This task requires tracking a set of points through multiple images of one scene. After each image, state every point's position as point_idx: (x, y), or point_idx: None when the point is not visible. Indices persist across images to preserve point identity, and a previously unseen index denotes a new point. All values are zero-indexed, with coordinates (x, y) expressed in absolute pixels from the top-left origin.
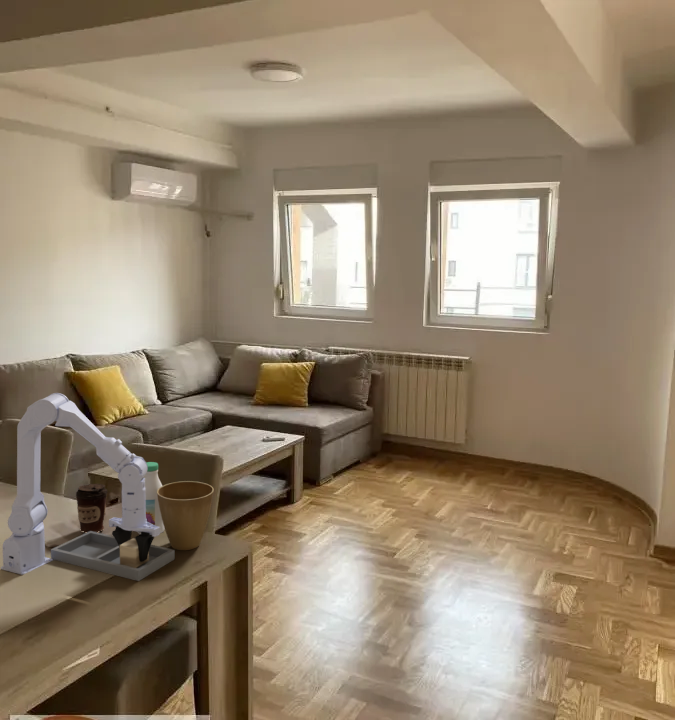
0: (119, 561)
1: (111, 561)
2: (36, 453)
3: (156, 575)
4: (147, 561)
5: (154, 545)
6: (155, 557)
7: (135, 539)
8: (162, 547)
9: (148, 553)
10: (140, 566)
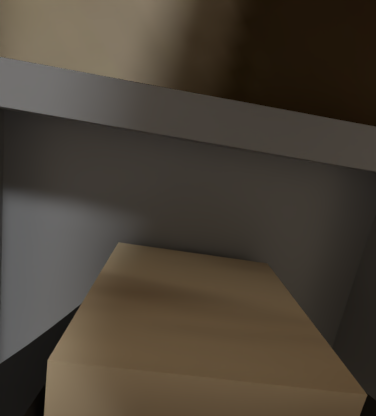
0: (58, 306)
1: (6, 322)
2: None
3: None
4: (246, 249)
5: (266, 110)
6: (272, 169)
7: (119, 388)
8: (372, 133)
9: (288, 297)
10: None
